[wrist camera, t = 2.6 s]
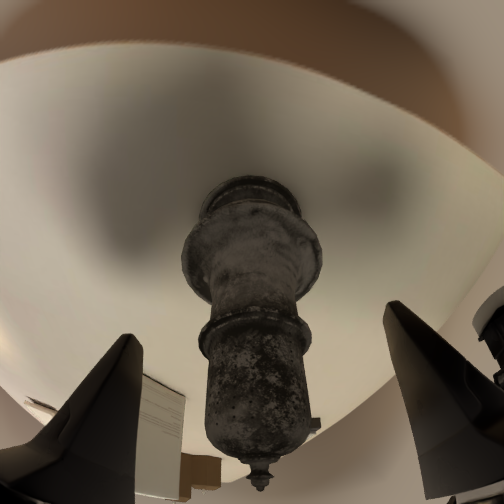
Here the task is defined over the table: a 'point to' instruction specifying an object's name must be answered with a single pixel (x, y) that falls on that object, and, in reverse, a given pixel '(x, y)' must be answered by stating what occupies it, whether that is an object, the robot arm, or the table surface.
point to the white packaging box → (159, 441)
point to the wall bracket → (41, 412)
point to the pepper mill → (254, 318)
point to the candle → (198, 475)
